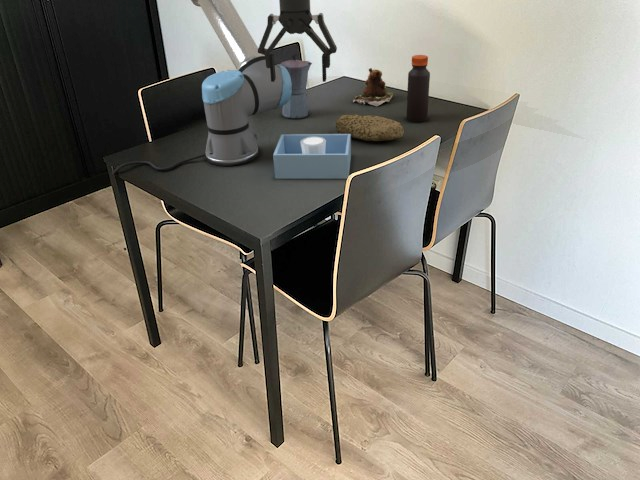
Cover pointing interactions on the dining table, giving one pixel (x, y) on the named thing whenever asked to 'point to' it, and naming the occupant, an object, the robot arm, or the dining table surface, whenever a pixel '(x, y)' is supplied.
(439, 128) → the dining table surface
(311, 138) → the shot glass
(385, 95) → the bear figurine
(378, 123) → the sponge
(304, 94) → the moka pot
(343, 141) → the open storage box
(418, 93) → the bottle
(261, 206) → the dining table surface
